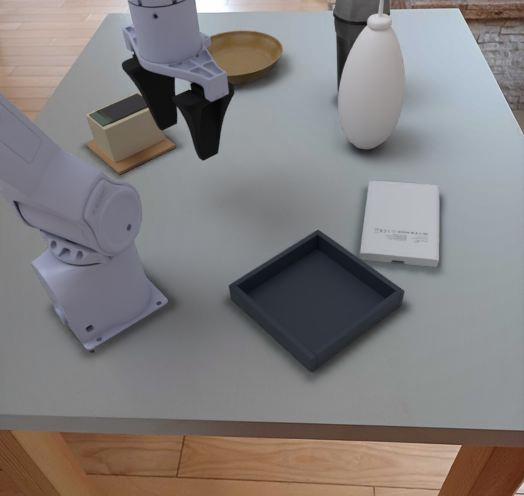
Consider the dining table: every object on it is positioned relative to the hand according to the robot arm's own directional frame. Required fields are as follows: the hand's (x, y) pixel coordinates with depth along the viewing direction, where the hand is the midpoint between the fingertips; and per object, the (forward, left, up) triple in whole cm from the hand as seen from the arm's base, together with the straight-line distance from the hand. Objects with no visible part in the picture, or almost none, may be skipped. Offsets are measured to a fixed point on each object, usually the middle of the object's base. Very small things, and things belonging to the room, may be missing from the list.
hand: (187, 140), depth 55 cm
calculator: (+1, +18, -9) cm, 20 cm away
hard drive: (+15, -18, -10) cm, 25 cm away
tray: (0, -20, -9) cm, 22 cm away
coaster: (+1, +18, -9) cm, 20 cm away
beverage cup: (+31, +5, -10) cm, 33 cm away
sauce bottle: (+24, -4, -10) cm, 26 cm away
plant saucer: (+25, +25, -10) cm, 37 cm away
